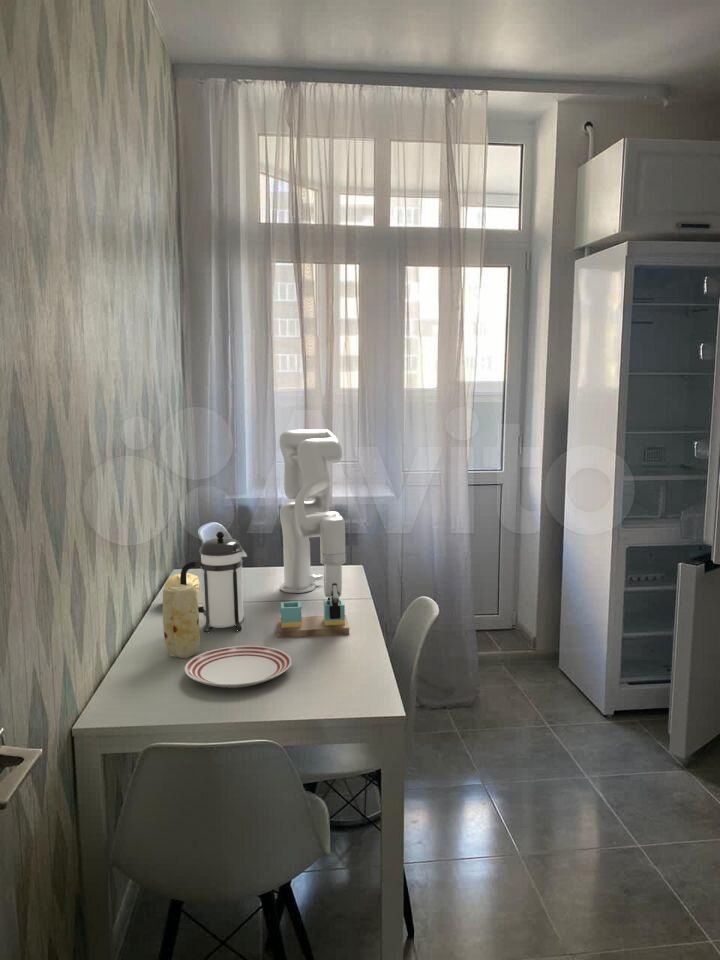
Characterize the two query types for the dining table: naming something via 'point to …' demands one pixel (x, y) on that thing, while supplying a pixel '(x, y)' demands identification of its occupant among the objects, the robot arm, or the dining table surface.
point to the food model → (181, 620)
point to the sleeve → (327, 614)
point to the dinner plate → (238, 666)
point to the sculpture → (190, 579)
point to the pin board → (312, 628)
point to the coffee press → (220, 582)
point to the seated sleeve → (291, 614)
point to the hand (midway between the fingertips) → (334, 613)
